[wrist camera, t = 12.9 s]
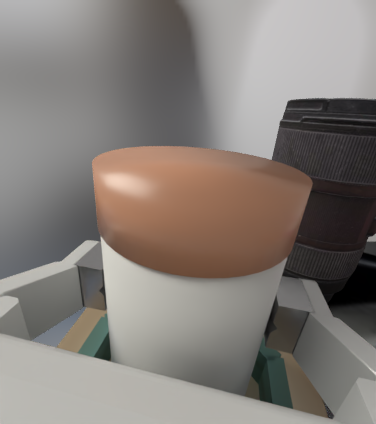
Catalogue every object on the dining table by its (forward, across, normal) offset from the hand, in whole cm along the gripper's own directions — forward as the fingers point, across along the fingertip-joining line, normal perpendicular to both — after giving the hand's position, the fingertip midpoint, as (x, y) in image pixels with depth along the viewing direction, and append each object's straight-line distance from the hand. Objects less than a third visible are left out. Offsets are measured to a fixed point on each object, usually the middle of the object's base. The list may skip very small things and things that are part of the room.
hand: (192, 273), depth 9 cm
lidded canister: (-1, 0, -6) cm, 6 cm away
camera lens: (+12, +8, -8) cm, 16 cm away
